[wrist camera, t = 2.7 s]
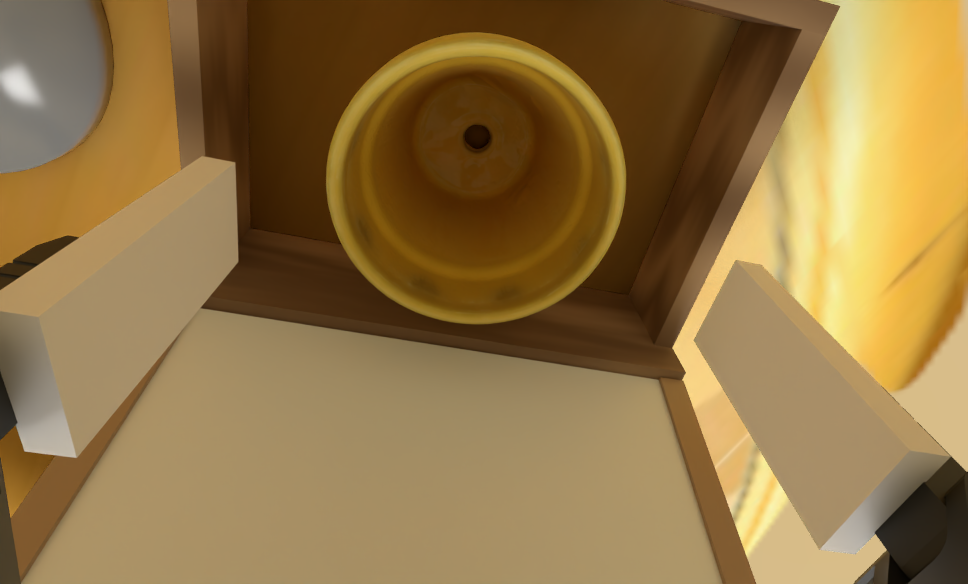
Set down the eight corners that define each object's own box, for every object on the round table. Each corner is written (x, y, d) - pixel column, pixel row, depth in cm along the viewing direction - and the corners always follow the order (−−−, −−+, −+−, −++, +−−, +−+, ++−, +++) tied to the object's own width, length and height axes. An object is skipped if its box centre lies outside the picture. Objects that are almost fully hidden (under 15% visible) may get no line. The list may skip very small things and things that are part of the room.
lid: (652, 434, 28) (832, 878, 14) (177, 367, 25) (-190, 851, 11) (681, 378, 26) (924, 829, 12) (169, 297, 23) (-289, 780, 9)
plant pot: (538, -23, 23) (578, -27, 14) (601, 186, 28) (658, 275, 19) (331, 73, 25) (260, 120, 16) (425, 254, 30) (408, 361, 21)
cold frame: (638, 311, 32) (677, 387, 26) (231, 241, 29) (169, 309, 23) (772, 1, 24) (876, 8, 18) (219, -145, 20) (115, -197, 14)
